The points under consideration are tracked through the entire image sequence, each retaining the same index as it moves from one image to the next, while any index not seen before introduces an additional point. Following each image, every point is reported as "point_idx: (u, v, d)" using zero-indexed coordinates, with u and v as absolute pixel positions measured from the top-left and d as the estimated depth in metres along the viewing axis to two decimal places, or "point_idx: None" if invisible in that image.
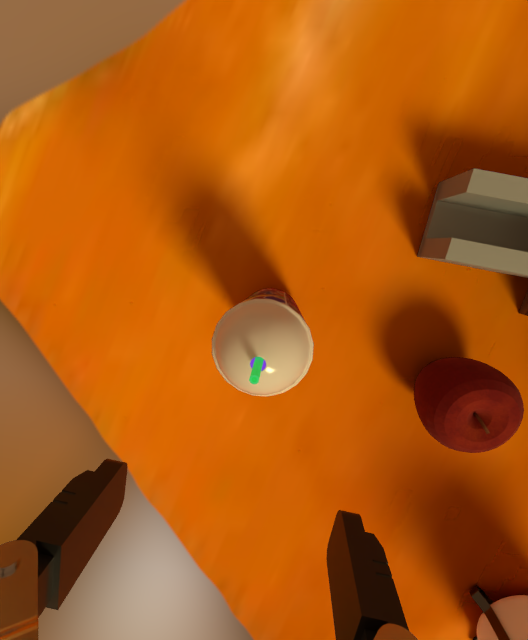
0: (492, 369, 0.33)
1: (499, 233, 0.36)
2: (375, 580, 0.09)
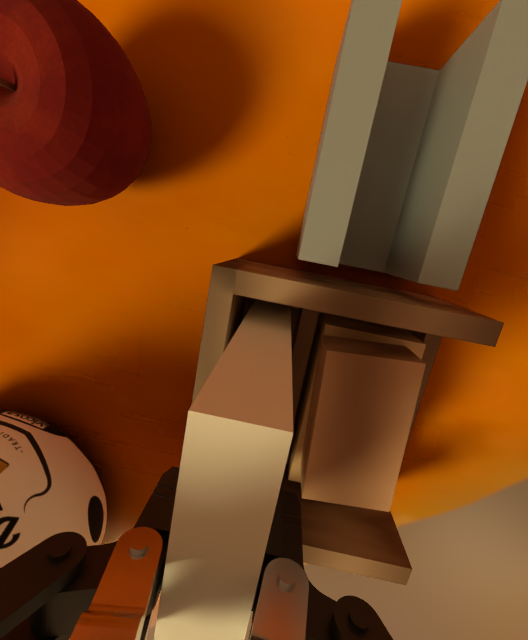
0: (122, 132, 0.16)
1: (372, 194, 0.21)
2: (281, 526, 0.10)
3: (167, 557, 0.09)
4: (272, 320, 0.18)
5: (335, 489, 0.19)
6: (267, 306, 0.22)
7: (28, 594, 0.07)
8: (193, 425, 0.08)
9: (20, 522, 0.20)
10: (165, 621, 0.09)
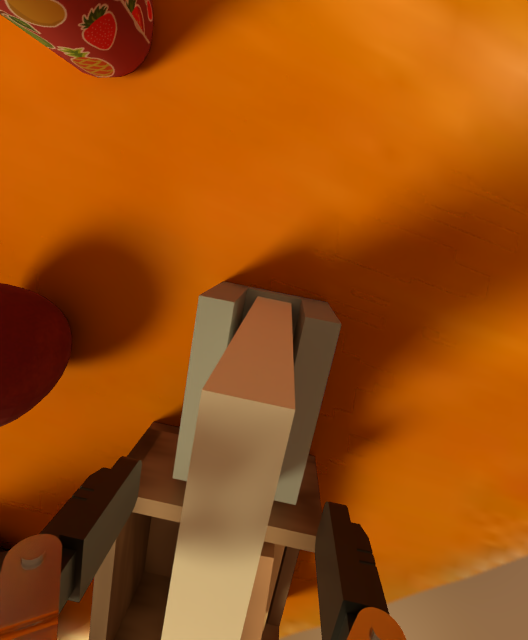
0: (31, 386, 0.21)
1: None
2: (358, 567, 0.10)
3: (180, 524, 0.10)
4: (274, 315, 0.19)
5: None
6: (269, 302, 0.23)
7: None
8: (206, 403, 0.09)
9: None
10: (178, 584, 0.10)
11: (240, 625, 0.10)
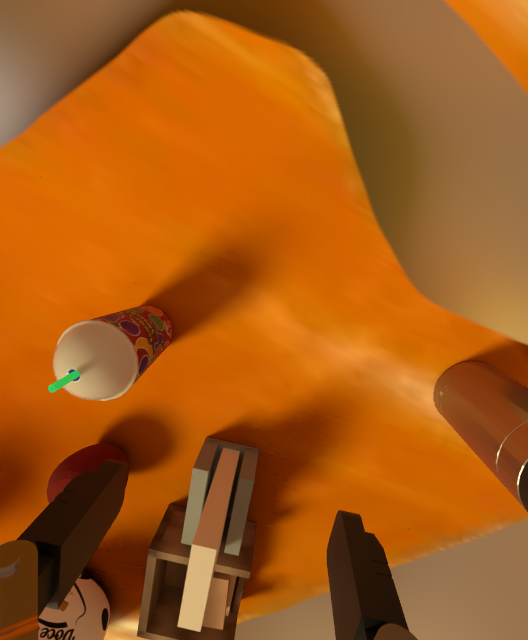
0: None
1: None
2: (375, 580, 0.09)
3: (186, 578, 0.34)
4: (226, 474, 0.43)
5: None
6: (227, 456, 0.47)
7: None
8: (193, 547, 0.33)
9: (75, 631, 0.49)
10: (185, 595, 0.34)
11: (204, 607, 0.35)
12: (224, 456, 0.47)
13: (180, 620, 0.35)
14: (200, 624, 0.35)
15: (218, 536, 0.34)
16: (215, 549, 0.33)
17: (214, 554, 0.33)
